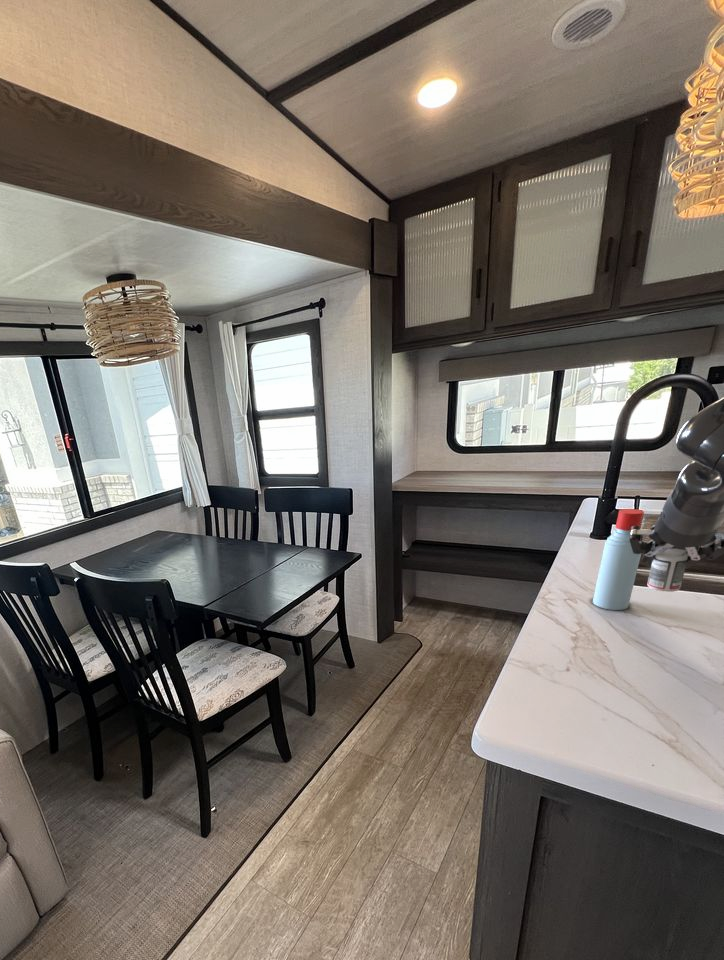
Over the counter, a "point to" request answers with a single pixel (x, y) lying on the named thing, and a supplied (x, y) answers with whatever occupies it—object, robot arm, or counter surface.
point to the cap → (629, 519)
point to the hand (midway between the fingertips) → (666, 561)
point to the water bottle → (616, 572)
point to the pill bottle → (668, 570)
